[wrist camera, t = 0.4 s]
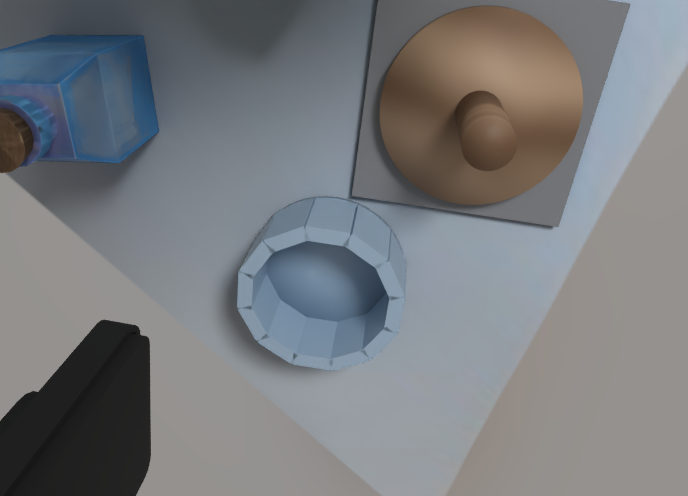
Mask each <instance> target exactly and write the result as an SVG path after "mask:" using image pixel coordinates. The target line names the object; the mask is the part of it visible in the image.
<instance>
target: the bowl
mask: <svg viewBox="0 0 688 496" xmlns="http://www.w3.org/2000/svg"><path fill="white" fill-rule="evenodd" d="M405 291H406V261H405V259H404V257H403V253H402V249H401V247H400V244H399V241H398V240H397V238H396V236H395V234H394V233H393V231H392V229H391V228H390V227H389V226H388V225H387V224H386V222H385V221H384V220H383V219H382V218H380V217H379V216H378V215H377V214H376V213H374V212H373V211H371V210H370V209H368V208H366V207H364V206H362V205H360V204H358V203H356V202H353V201H350V200H346V199H342V198H337V197H313V198H307V199H303V200H300V201H297V202H294V203H292V204H290V205H288V206H286V207H285V208H283V209H281V210H279V211H278V212H276V213H275V214H274V216H273V217H272V218H271V219H270V220H269V221H268V222H267V224H266V225H265V227H264V228H263V230H262V231H261V232H260V234H259V235H258V236H257V238H256V239H255V241H254V243H253V244H252V246H251V248H250V250H249V252H248V254H247V256H246V258H245V260H244V262H243V264H242V266H241V268H240V270H239V272H238V296H237V308H238V311H239V313H240V314H241V316H242V318H243V319H244V321H245V323H246V325H247V326H248V328H249V330H250V331H251V333H252V335H253V336H254V338H255V340H256V341H258V343H259V344H261V345H262V346H264V347H265V348H267V349H268V350H270V351H272V352H273V353H275V354H276V355H278V356H279V357H281V358H282V359H284V360H285V361H287V362H289V363H290V364H291V363H292V364H293V365H299V366H305V367H311V368H318V369H324V370H330V371H331V370H332V369H333V371H334V370H338V369H341V368H345V367H349V366H352V365H356V364H360V363H363V362H367V361H370V359H373V358H374V357H375V356H376V355H377V354H378V353H379V352H380V351H381V350H382V349H383V348H384V347H385V346H386V345H387V344H388V343H390V342H391V341H392V340H393V339H394V338H395V337H396V336H397V335H398V333H399V328H400V323H401V318H402V312H403V307H404V302H405ZM292 361H293V362H292Z"/></svg>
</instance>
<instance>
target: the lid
mask: <svg viewBox="0 0 688 496" xmlns="http://www.w3.org/2000/svg"><path fill="white" fill-rule="evenodd" d="M582 108H583V88H582V82H581V77H580V73H579V70H578V67H577V64H576V62H575V60H574V58H573V56H572V54H571V52H570V50H569V49H568V48H567V46H566V45H565V43H564V42H563V41H562V40H561V39H560V38H559V36H558V35H557V34H556V33H555V32H554V31H553V30H551V29H550V28H549V27H547V26H546V25H545V24H543V23H542V22H541V21H539V20H538V19H536V18H534V17H532V16H530V15H529V14H527V13H524V12H521V11H518V10H516V9H512V8H507V7H502V6H491V5H484V6H472V7H467V8H462V9H458V10H455V11H452V12H450V13H447V14H444V15H443V16H441V17H439V18H437V19H435V20H433V21H431V22H430V23H428V24H427V25H425V26H424V27H422V28H421V29H420V30H419V31H418V32H417V33H415V34H414V35H413V36H412V37H411V38H410V39H409V40H408V41H407V43H406V44H405V45H404V46H403V47H402V48H401V50H400V51H399V53H398V54H397V56H396V57H395V59H394V61H393V63H392V65H391V67H390V69H389V71H388V73H387V76H386V79H385V82H384V85H383V90H382V95H381V99H380V112H379V113H380V127H381V132H382V137H383V140H384V143H385V146H386V149H387V151H388V153H389V155H390V157H391V159H392V161H393V162H394V164H395V165H396V167H397V168H398V170H399V171H400V172H401V173H402V174H403V175H404V176H405V178H407V179H408V180H409V181H410V182H411V183H412V184H413V185H415V186H416V187H418V188H419V189H421V190H422V191H424V192H425V193H427V194H429V195H431V196H433V197H436V198H438V199H441V200H444V201H448V202H452V203H457V204H466V205H483V204H490V203H496V202H500V201H503V200H507V199H510V198H512V197H515V196H517V195H520V194H522V193H523V192H525V191H527V190H529V189H531V188H532V187H534V186H535V185H537V184H538V183H540V182H541V181H542V180H543V179H544V178H546V177H547V176H548V175H549V174H550V173H551V172H552V171H553V170H554V169H555V168H556V167H557V166H558V165H559V163H560V162H561V161H562V159H563V158H564V156H565V155H566V154H567V152H568V150H569V149H570V147H571V145H572V143H573V141H574V139H575V136H576V134H577V131H578V128H579V124H580V120H581V116H582Z"/></svg>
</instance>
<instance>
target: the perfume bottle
mask: <svg viewBox="0 0 688 496" xmlns="http://www.w3.org/2000/svg"><path fill="white" fill-rule="evenodd" d="M158 132H159V128H158V122H157V116H156V110H155V104H154V98H153V92H152V85H151V79H150V73H149V67H148V61H147V55H146V48H145V42H144V36H143V35H49V36H46V37H42V38H39V39H35V40H32V41H28V42H25V43H22V44H18V45H15V46H11V47H8V48H4V49H1V50H0V173H5V172H11V171H13V170H15V169H17V168H18V167H21V166H27V165H29V164H31V163H32V162H34V161H58V162H97V163H120V162H121V161H122V160H124V159H125V158H126V157H128V156H129V155H130V154H131V153H133V152H134V151H135V150H136V149H138V148H139V147H140V146H141V145H143V144H144V143H145V142H147V141H148V140H149V139H150V138H152V137H153V136H154V135H155V134H157V133H158Z"/></svg>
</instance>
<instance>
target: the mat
mask: <svg viewBox="0 0 688 496" xmlns="http://www.w3.org/2000/svg"><path fill="white" fill-rule="evenodd" d="M484 5H491V6H502V7H507V8H512V9H516V10H518V11H521V12H524V13H527V14H529V15H530V16H532V17H534V18H536V19H538V20H539V21H541V22H542V23H543V24H545V25H546V26H547V27H549V28H550V29H551V30H553V31H554V32H555V33H556V34H557V35H558V36H559V38H560V39H561V40H562V41H563V42H564V43H565V45H566V46H567V48H568V49H569V50H570V52H571V54H572V56H573V58H574V60H575V62H576V64H577V67H578V70H579V73H580V77H581V82H582V88H583V108H582V116H581V120H580V124H579V128H578V131H577V134H576V136H575V139H574V141H573V143H572V145H571V147H570V149H569V150H568V152H567V154H566V155H565V156H564V158H563V159H562V161H561V162H560V163H559V165H558V166H557V167H556V168H555V169H554V170H553V171H552V172H551V173H550V174H549V175H548V176H547V177H546V178H544V179H543V180H542V181H541V182H540V183H538V184H537V185H535V186H534V187H532V188H531V189H529V190H527V191H525V192H523V193H522V194H520V195H517V196H515V197H512V198H510V199H507V200H503V201H500V202H496V203H490V204H483V205H466V204H457V203H452V202H448V201H444V200H441V199H438V198H436V197H433V196H431V195H429V194H427V193H425V192H424V191H422V190H421V189H419V188H418V187H416V186H415V185H413V184H412V183H411V182H410V181H409V180H408V179H407V178H405V176H404V175H403V174H402V173H401V172H400V171H399V170H398V168H397V167H396V165H395V164H394V162H393V161H392V159H391V157H390V155H389V153H388V151H387V149H386V146H385V143H384V140H383V137H382V132H381V127H380V113H379V112H380V99H381V95H382V90H383V85H384V82H385V79H386V76H387V73H388V71H389V69H390V67H391V65H392V63H393V61H394V59H395V57H396V56H397V54H398V53H399V51H400V50H401V48H402V47H403V46H404V45H405V44H406V43H407V41H408V40H409V39H410V38H411V37H412V36H413V35H414V34H415V33H417V32H418V31H419V30H420V29H421V28H422V27H424V26H425V25H427V24H428V23H430V22H431V21H433V20H435V19H437V18H439V17H441V16H443V15H444V14H447V13H450V12H452V11H455V10H458V9H462V8H467V7H472V6H484ZM629 7H630V4H628V3H622V2H615V1H607V0H378V3H377V10H376V18H375V25H374V33H373V40H372V48H371V55H370V63H369V70H368V78H367V85H366V93H365V100H364V108H363V115H362V123H361V130H360V138H359V145H358V153H357V160H356V168H355V175H354V182H353V190H352V196H356V197H362V198H369V199H376V200H382V201H389V202H395V203H402V204H409V205H415V206H422V207H429V208H435V209H442V210H449V211H455V212H462V213H469V214H475V215H482V216H489V217H495V218H502V219H509V220H515V221H522V222H529V223H535V224H542V225H549V226H555V227H558V226H559V223H560V220H561V217H562V214H563V211H564V208H565V205H566V201H567V198H568V195H569V192H570V189H571V186H572V183H573V180H574V177H575V174H576V171H577V167H578V164H579V161H580V158H581V155H582V152H583V149H584V146H585V143H586V140H587V137H588V134H589V130H590V127H591V124H592V121H593V118H594V115H595V112H596V109H597V106H598V103H599V100H600V96H601V93H602V90H603V87H604V84H605V81H606V78H607V75H608V72H609V69H610V66H611V62H612V59H613V56H614V53H615V50H616V47H617V44H618V41H619V38H620V35H621V32H622V29H623V25H624V22H625V19H626V16H627V13H628V10H629Z"/></svg>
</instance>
